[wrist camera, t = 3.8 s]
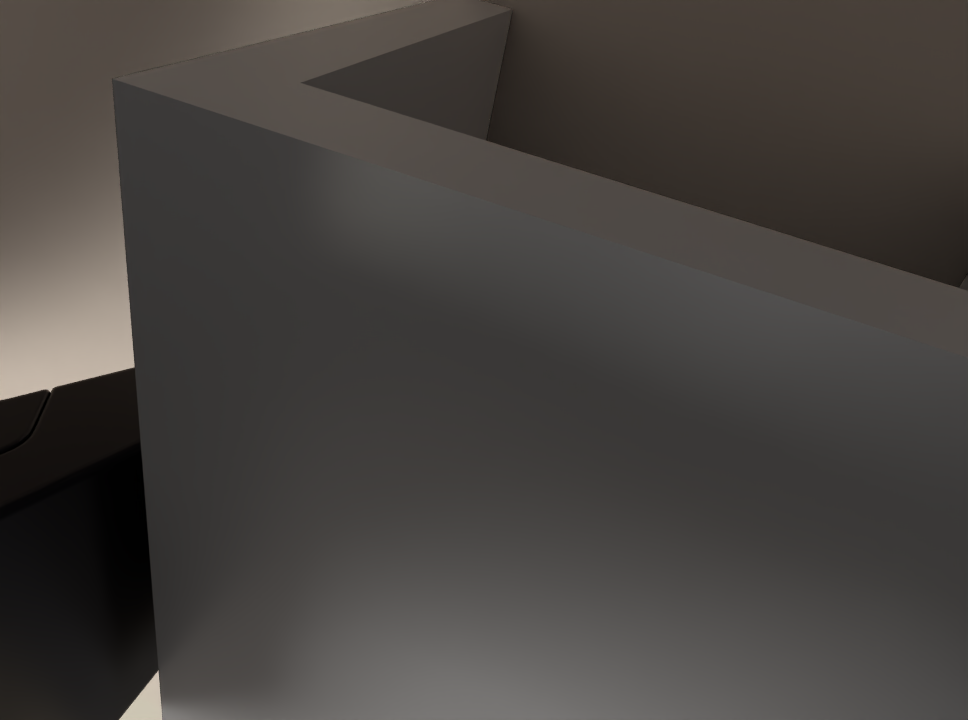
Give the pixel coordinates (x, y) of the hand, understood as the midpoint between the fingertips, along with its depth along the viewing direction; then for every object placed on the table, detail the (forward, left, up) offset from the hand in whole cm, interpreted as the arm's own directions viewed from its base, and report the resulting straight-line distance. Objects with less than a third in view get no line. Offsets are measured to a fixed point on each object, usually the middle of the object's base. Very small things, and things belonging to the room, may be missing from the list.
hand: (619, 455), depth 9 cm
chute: (0, 0, -1) cm, 1 cm away
